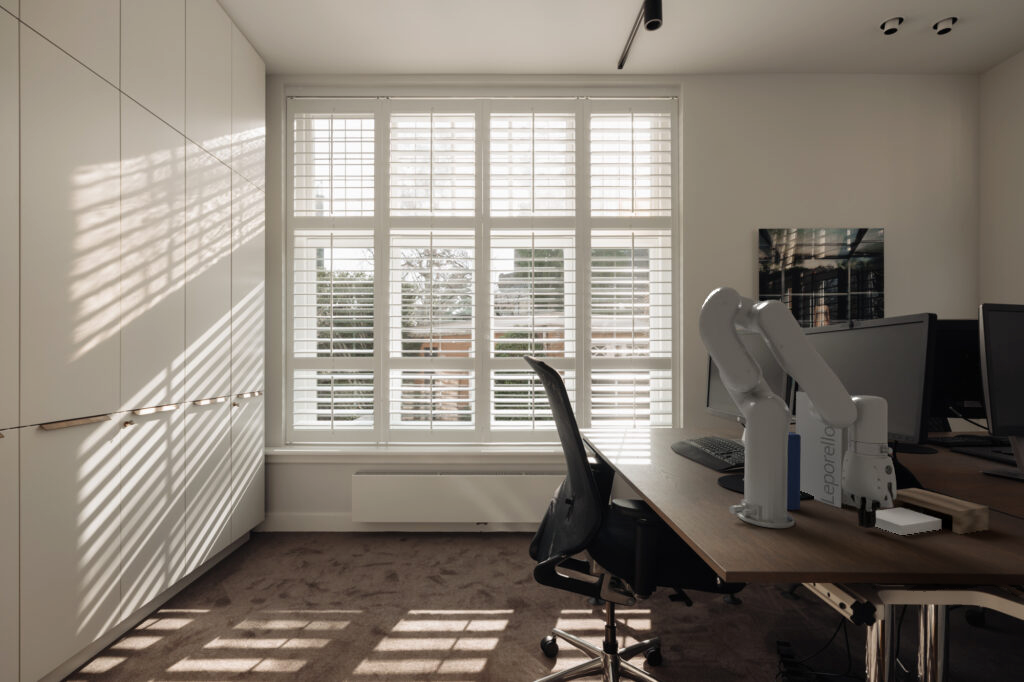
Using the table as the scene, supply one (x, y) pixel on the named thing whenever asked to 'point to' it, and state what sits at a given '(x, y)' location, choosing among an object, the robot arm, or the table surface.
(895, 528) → the white sponge pad
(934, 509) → the overhang shelf
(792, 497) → the electronic device
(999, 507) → the table surface
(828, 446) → the brochure
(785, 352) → the robot arm
